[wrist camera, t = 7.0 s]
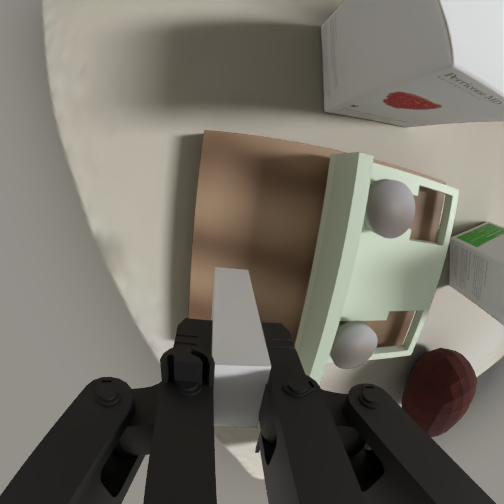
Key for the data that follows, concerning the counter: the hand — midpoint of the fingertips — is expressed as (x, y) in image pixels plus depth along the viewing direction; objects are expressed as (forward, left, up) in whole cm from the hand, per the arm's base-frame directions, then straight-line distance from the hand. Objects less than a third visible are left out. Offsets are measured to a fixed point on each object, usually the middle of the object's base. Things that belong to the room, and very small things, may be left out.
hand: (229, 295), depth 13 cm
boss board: (+1, +9, -10) cm, 13 cm away
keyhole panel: (+1, +13, -7) cm, 15 cm away
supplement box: (-16, +11, -11) cm, 22 cm away
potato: (+16, +28, -11) cm, 33 cm away
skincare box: (-1, +29, -11) cm, 30 cm away
